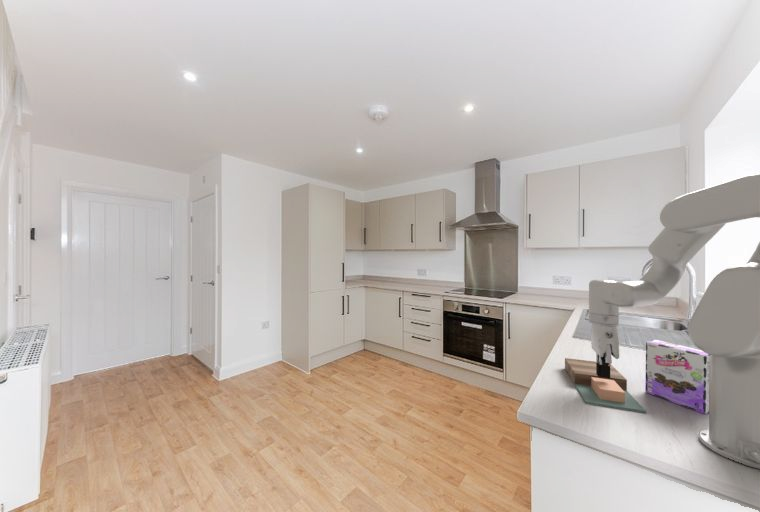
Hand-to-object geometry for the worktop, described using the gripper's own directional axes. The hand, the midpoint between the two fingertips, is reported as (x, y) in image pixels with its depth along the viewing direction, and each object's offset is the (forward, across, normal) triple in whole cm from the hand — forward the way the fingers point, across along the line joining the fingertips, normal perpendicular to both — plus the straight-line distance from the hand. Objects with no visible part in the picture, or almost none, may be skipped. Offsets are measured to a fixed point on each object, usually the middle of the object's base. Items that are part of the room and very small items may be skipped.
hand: (603, 376), depth 92 cm
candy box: (+5, +2, -19) cm, 20 cm away
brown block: (+5, +10, 0) cm, 12 cm away
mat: (+5, -4, 0) cm, 6 cm away
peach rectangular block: (+4, -2, 0) cm, 5 cm away
